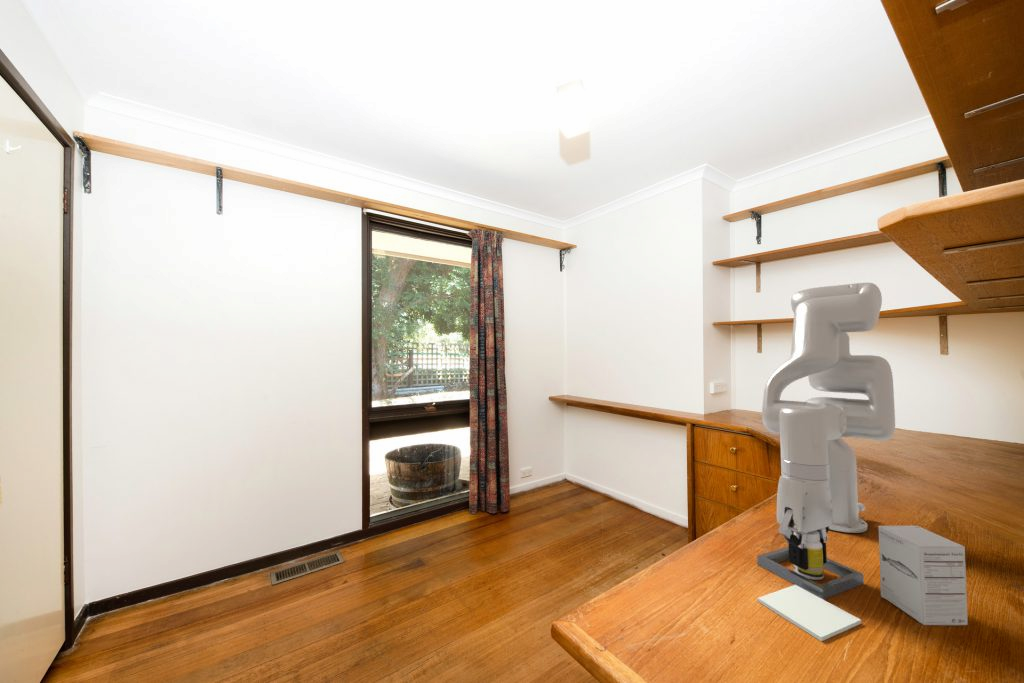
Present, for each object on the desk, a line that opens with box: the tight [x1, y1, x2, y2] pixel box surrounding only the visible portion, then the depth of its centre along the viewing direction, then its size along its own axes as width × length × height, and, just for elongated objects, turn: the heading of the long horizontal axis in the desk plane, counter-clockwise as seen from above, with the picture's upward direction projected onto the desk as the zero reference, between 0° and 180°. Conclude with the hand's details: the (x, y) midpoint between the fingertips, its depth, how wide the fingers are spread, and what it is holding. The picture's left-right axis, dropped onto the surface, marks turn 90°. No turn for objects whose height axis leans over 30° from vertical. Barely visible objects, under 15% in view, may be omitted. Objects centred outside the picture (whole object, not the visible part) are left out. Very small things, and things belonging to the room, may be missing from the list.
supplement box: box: [878, 525, 969, 626], centre depth 64 cm, size 7×7×13 cm
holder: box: [756, 546, 865, 600], centre depth 75 cm, size 12×12×2 cm
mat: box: [757, 584, 862, 642], centre depth 64 cm, size 10×10×1 cm
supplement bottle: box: [792, 525, 825, 581], centre depth 75 cm, size 5×5×8 cm
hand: (807, 562), depth 75 cm, fingers closed on supplement bottle, 4 cm apart
